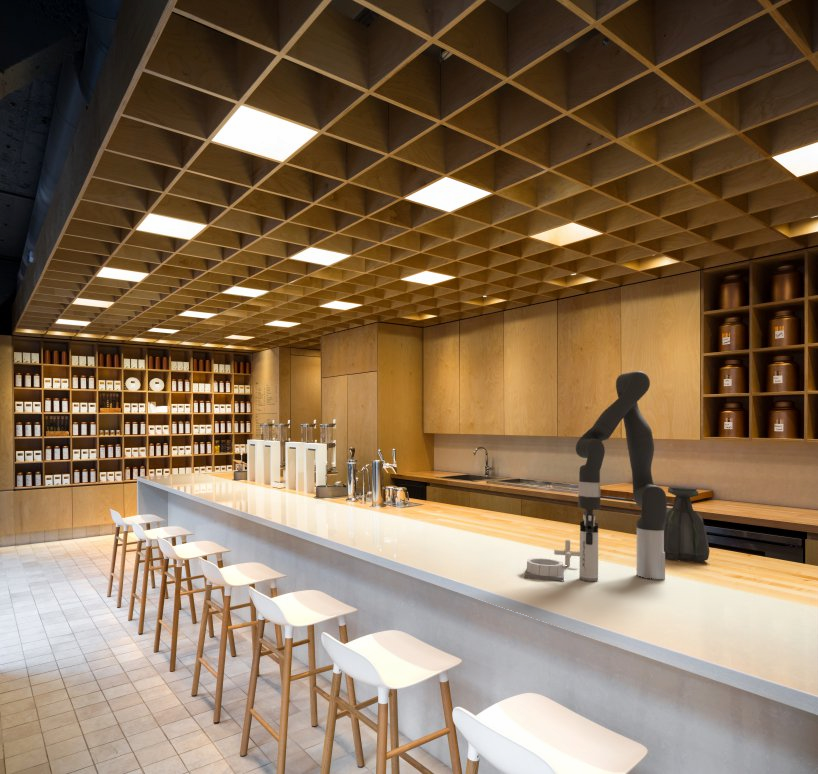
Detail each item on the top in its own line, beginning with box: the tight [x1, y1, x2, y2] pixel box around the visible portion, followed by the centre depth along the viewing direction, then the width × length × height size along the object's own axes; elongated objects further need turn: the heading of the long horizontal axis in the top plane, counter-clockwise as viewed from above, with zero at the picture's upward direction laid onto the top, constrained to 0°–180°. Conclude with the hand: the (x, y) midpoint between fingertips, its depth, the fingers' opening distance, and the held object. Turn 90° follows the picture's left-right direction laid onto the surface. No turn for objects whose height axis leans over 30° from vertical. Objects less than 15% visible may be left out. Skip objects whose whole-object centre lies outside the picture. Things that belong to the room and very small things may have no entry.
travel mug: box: [578, 520, 599, 582], centre depth 203 cm, size 6×7×20 cm
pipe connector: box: [553, 539, 580, 567], centre depth 223 cm, size 10×10×10 cm
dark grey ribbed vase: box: [664, 486, 710, 563], centre depth 249 cm, size 18×16×30 cm
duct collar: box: [524, 557, 565, 582], centre depth 207 cm, size 13×13×5 cm
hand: (588, 542), depth 204 cm, fingers closed on travel mug, 6 cm apart
